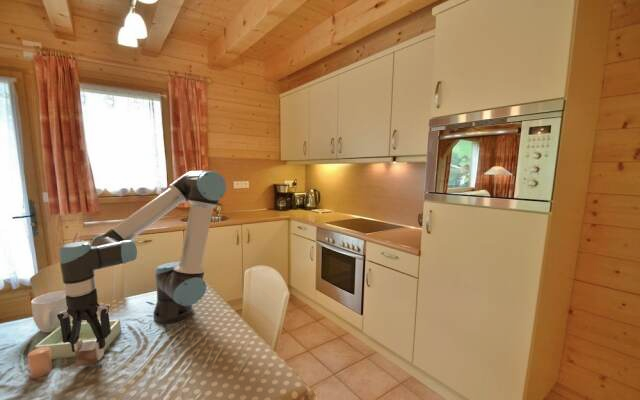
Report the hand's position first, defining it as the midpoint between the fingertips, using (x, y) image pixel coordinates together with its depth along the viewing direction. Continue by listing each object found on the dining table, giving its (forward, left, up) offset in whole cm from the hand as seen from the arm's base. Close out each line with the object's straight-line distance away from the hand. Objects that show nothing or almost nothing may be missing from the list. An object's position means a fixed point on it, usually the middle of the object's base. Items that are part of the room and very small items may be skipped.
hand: (90, 358), depth 92 cm
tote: (+10, -12, -3) cm, 16 cm away
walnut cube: (0, 0, 0) cm, 0 cm away
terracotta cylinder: (+14, +1, -3) cm, 14 cm away
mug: (+27, -25, -3) cm, 37 cm away
